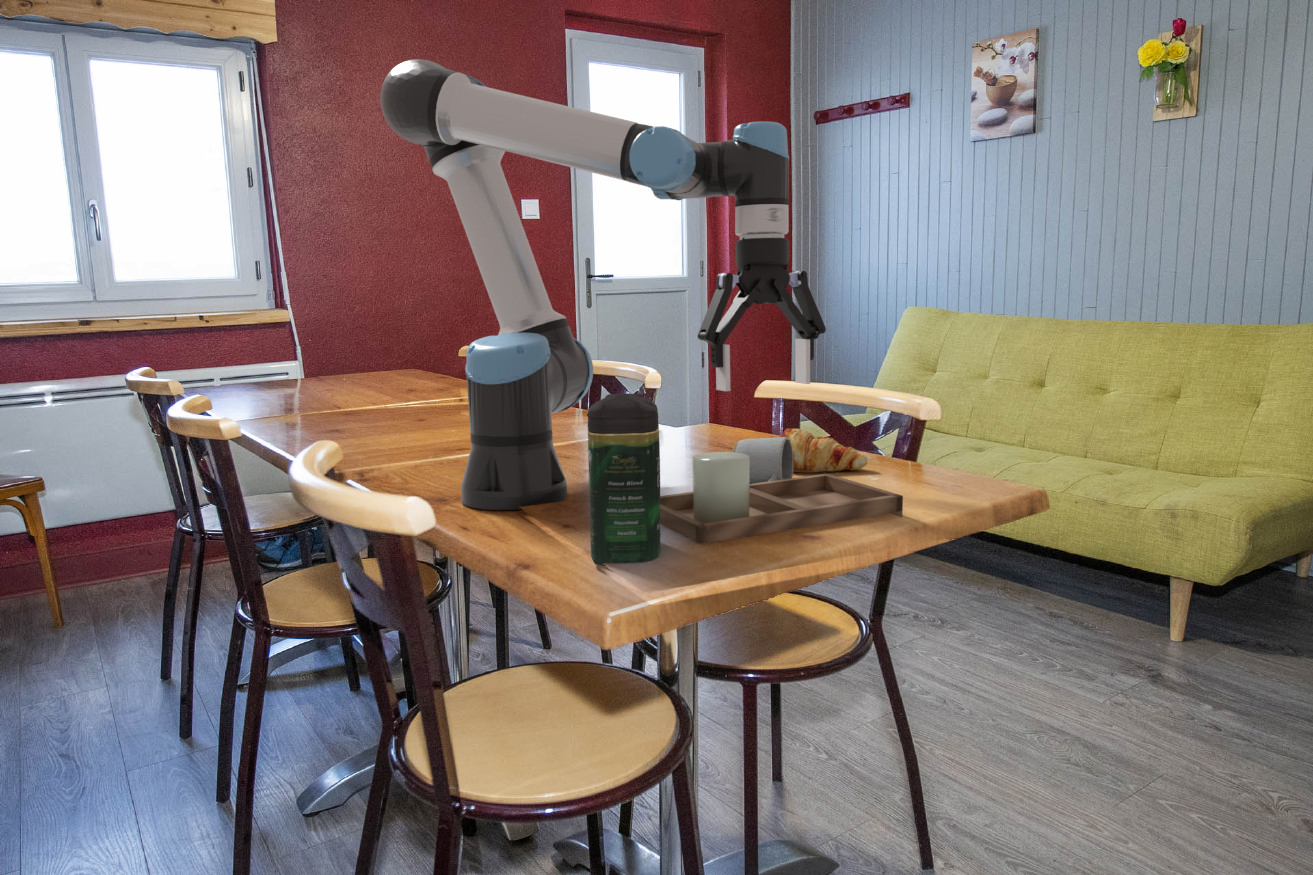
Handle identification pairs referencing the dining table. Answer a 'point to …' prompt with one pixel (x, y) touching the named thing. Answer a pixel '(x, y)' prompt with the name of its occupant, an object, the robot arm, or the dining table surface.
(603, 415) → the coffee jar
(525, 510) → the dining table surface
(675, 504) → the caddy
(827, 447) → the croissant
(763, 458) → the ceramic mug
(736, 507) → the pale green pillar candle
